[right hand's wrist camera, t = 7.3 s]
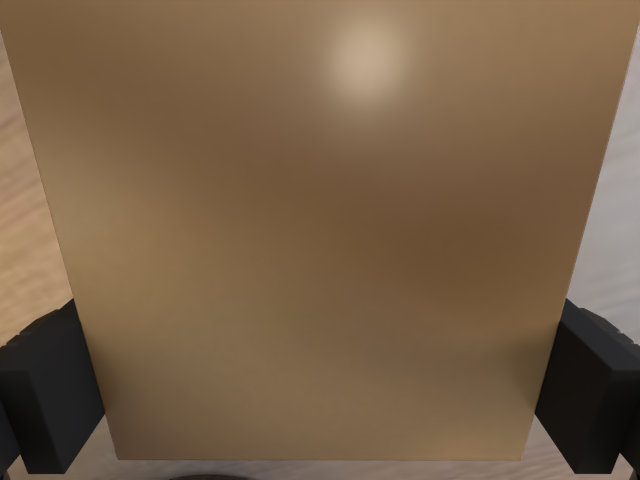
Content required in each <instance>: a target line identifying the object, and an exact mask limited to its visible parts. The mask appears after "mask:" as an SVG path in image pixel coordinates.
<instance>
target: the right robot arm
mask: <svg viewBox="0 0 640 480" xmlns="http://www.w3.org/2000/svg"><path fill="white" fill-rule="evenodd" d="M104 414H105V411H104V407H103V404H102V400H101V396H100V393H99V389H98V385H97V382H96V378H95V374H94V371H93V367H92V363H91V360H90V356H89V352H88V349H87V345H86V341H85V338H84V334H83V330H82V327H81V323H80V319H79V316H78V312H77V308H76V305H75V301H74V298H73V299H71V300H70V301H69V302H68V303H67V304H65V305H64V306H63V307H62V308H61V309H56V310H54V311H52V312H50V313H48V314H46V315H44V316H42V317H40V318H38V319H36V320H35V321H33V322H32V323H31V324H30V325H28V326H27V327H26V328H25V329H23V330H22V331H21V332H20V334H19V335H16V336H15V337H13V338H12V339H11V340H10V341H8V342H7V344H6V346H2V347H1V348H0V480H10V477H9V474H8V472H7V469H8V468H9V467H10V466H11V464H12V463H13V462H14V461H15V460H16V458H17V457H18V456H19V455H20V454H21V457H22V459H23V462H24V464H25V467H26V469H27V472H28V474H65V472H66V471H67V469H68V468H69V466H70V465H71V463H72V462H73V460H74V459H75V458H76V456H77V455H78V453H79V452H80V450H81V449H82V447H83V446H84V444H85V443H86V441H87V440H88V438H89V437H90V435H91V434H92V432H93V431H94V429H95V428H96V426H97V425H98V423H99V422H100V420H101V419H102V417H103V416H104ZM535 415H536V416H537V418H538V419H539V421H540V422H541V424H542V425H543V427H544V428H545V430H546V431H547V433H548V434H549V436H550V437H551V439H552V440H553V442H554V443H555V445H556V446H557V448H558V449H559V451H560V452H561V454H562V455H563V457H564V458H565V460H566V461H567V463H568V464H569V466H570V467H571V469H572V470H573V472H574V473H575V474H611V473H612V470H613V468H614V465H615V463H616V460H617V458H618V455H619V453H621V454H622V456H623V457H624V458H625V459H626V460H627V462H628V463H629V464H630V465H631V466H632V467H633V469H634V470H633V472H632V474H631V477H630V479H629V480H640V346H639V345H637V344H634V343H633V341H632V340H631V339H630V338H629V337H627V336H626V335H625V334H624V333H620V330H618V329H617V328H616V327H615V326H613V325H612V324H611V323H610V322H608V321H607V320H606V319H604V318H602V317H600V316H598V315H596V314H594V313H593V312H591V311H589V310H587V309H585V308H578V307H577V306H575V305H574V304H573V303H572V302H571V301H569V300H568V299H567V298H566V299H565V303H564V307H563V310H562V314H561V318H560V321H559V325H558V329H557V332H556V336H555V340H554V343H553V347H552V351H551V354H550V358H549V362H548V365H547V369H546V373H545V376H544V380H543V384H542V388H541V391H540V395H539V399H538V402H537V406H536V410H535ZM171 480H243V479H239V478H233V477H227V476H218V475H195V476H185V477H180V478H174V479H171Z"/></svg>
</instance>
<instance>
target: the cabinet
mask: <svg viewBox="0 0 640 480" xmlns="http://www.w3.org/2000/svg"><path fill="white" fill-rule="evenodd" d="M639 27H640V0H0V29H1V33H2V36H3V40H4V44H5V47H6V51H7V55H8V58H9V62H10V66H11V69H12V73H13V77H14V80H15V84H16V88H17V91H18V95H19V99H20V103H21V106H22V110H23V114H24V117H25V121H26V125H27V128H28V132H29V136H30V139H31V143H32V147H33V150H34V154H35V158H36V161H37V165H38V169H39V172H40V176H41V180H42V183H43V187H44V191H45V194H46V198H47V202H48V205H49V209H50V213H51V216H52V220H53V224H54V227H55V231H56V235H57V238H58V242H59V246H60V250H61V253H62V257H63V261H64V264H65V268H66V272H67V275H68V279H69V283H70V286H71V290H72V294H73V297H74V301H75V305H76V308H77V312H78V316H79V319H80V323H81V327H82V330H83V334H84V338H85V341H86V345H87V349H88V352H89V356H90V360H91V363H92V367H93V371H94V374H95V378H96V382H97V385H98V389H99V393H100V396H101V400H102V404H103V407H104V411H105V415H106V419H107V422H108V426H109V430H110V433H111V437H112V441H113V444H114V448H115V452H116V455H117V459H118V460H522V457H523V454H524V450H525V446H526V443H527V439H528V435H529V432H530V428H531V424H532V421H533V417H534V413H535V410H536V406H537V402H538V399H539V395H540V391H541V388H542V384H543V380H544V376H545V373H546V369H547V365H548V362H549V358H550V354H551V351H552V347H553V343H554V340H555V336H556V332H557V329H558V325H559V321H560V318H561V314H562V310H563V307H564V303H565V299H566V296H567V292H568V288H569V285H570V281H571V277H572V274H573V270H574V266H575V263H576V259H577V255H578V252H579V248H580V244H581V240H582V237H583V233H584V229H585V226H586V222H587V218H588V215H589V211H590V207H591V204H592V200H593V196H594V193H595V189H596V185H597V182H598V178H599V174H600V171H601V167H602V163H603V160H604V156H605V152H606V149H607V145H608V141H609V138H610V134H611V130H612V127H613V123H614V119H615V116H616V112H617V108H618V105H619V101H620V97H621V93H622V90H623V86H624V82H625V79H626V75H627V71H628V68H629V64H630V60H631V57H632V53H633V49H634V46H635V42H636V38H637V35H638V31H639Z"/></svg>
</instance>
